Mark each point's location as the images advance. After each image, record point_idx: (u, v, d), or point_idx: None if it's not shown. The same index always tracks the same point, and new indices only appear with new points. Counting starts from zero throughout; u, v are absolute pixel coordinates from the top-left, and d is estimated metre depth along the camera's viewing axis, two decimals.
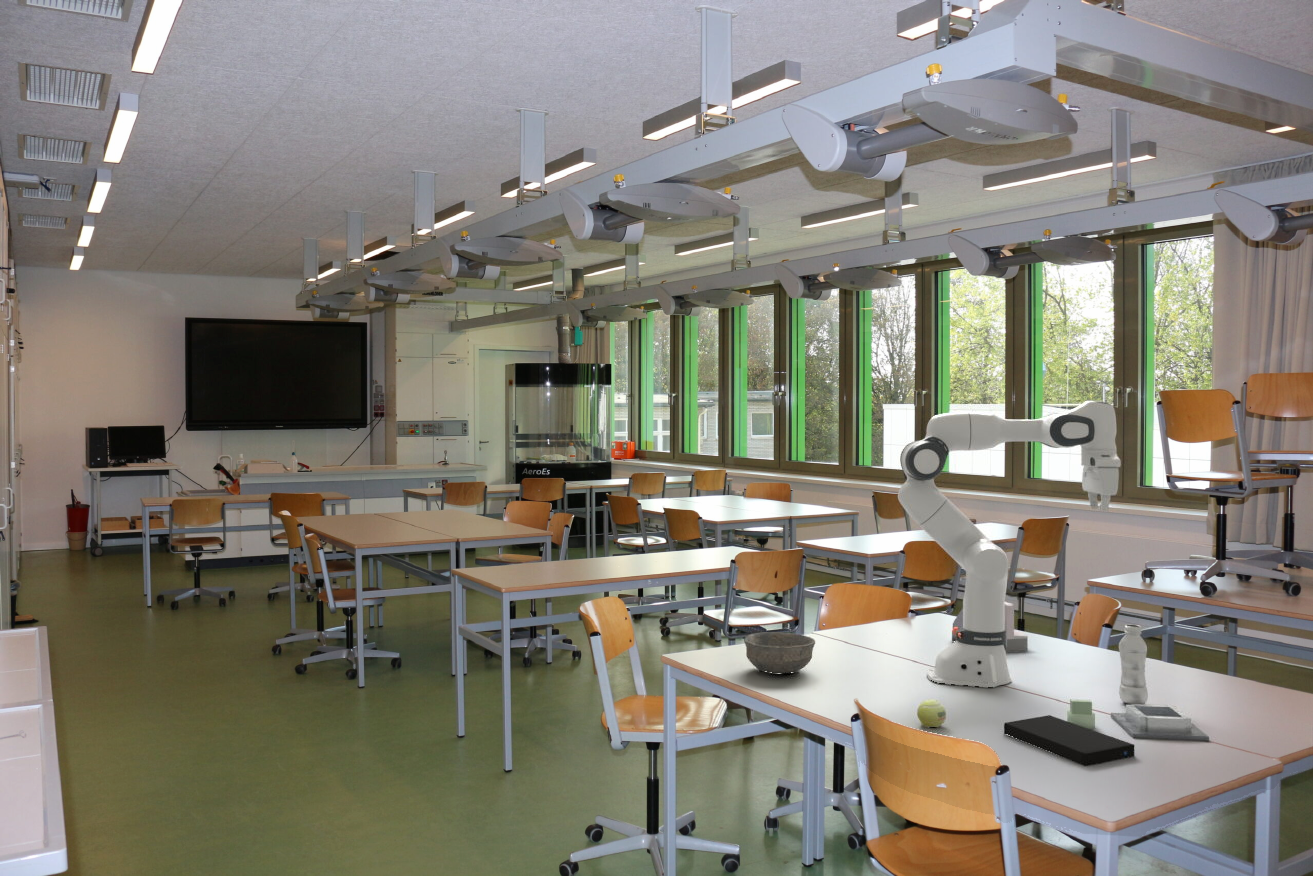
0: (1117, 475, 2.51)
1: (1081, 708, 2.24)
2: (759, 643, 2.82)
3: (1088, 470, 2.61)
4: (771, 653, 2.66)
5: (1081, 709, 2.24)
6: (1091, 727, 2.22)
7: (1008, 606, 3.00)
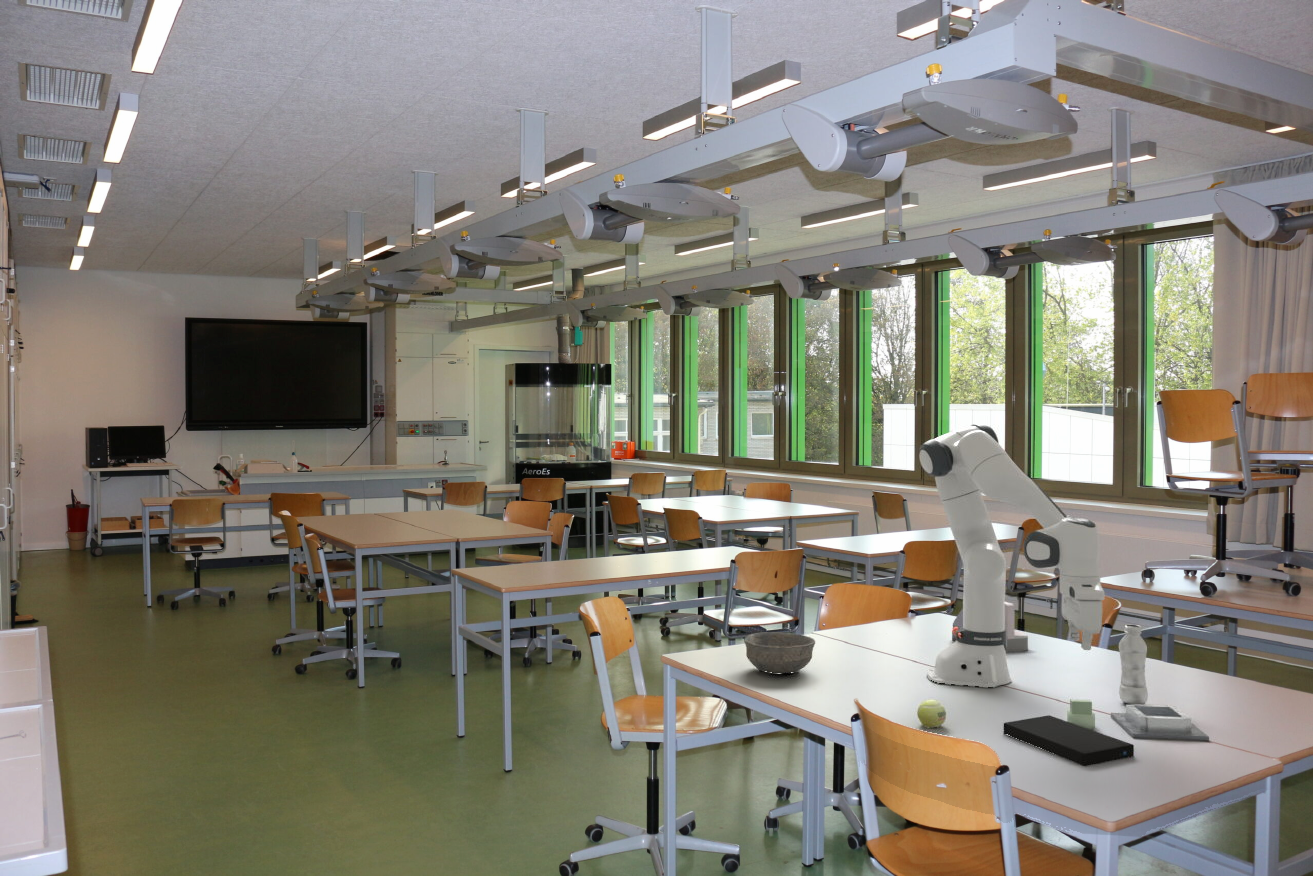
0: (1100, 610, 2.15)
1: (1081, 708, 2.24)
2: (759, 643, 2.82)
3: (1067, 599, 2.24)
4: (771, 653, 2.66)
5: (1081, 709, 2.24)
6: (1091, 727, 2.22)
7: (1008, 606, 3.00)
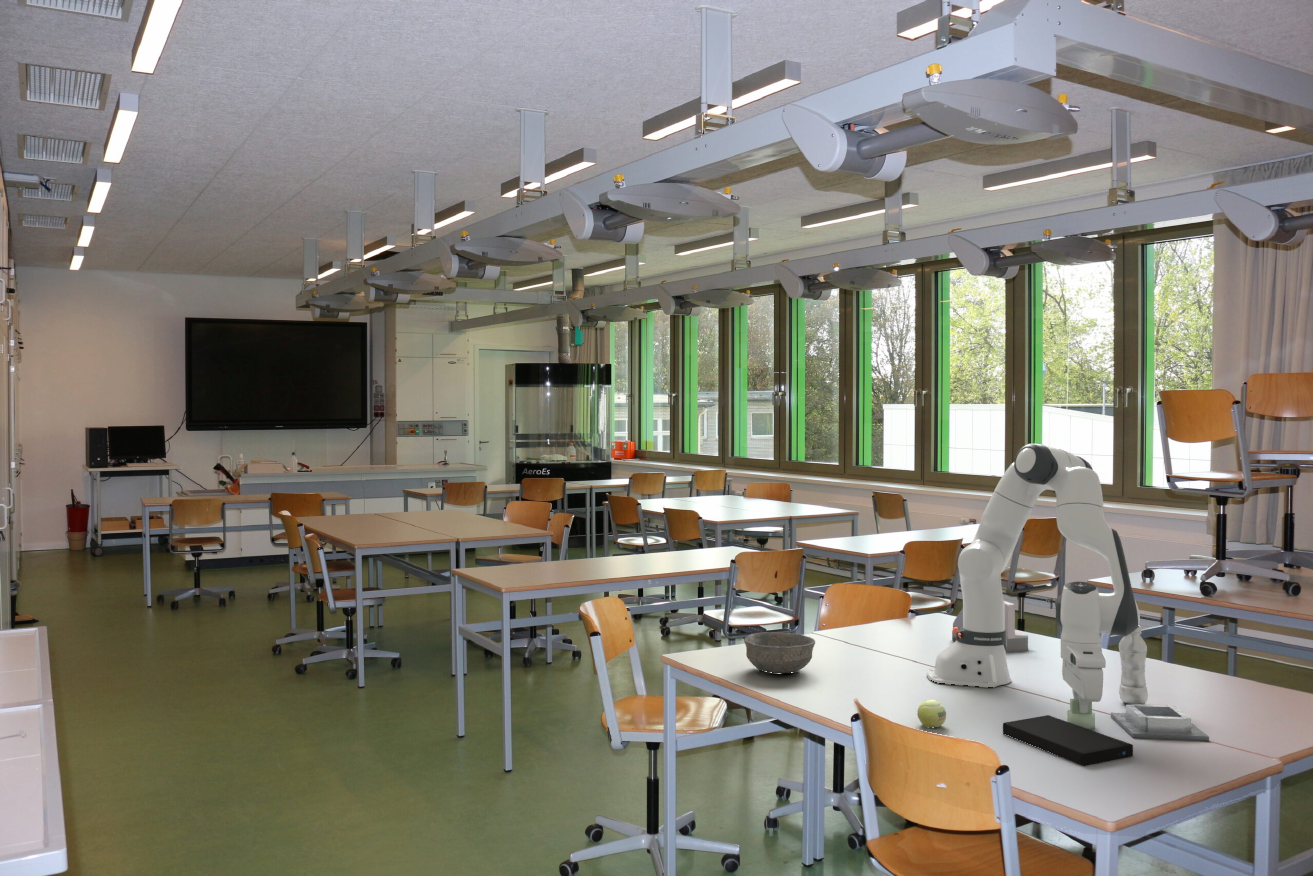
0: (1101, 679, 2.15)
1: None
2: (759, 643, 2.82)
3: (1068, 665, 2.24)
4: (771, 653, 2.66)
5: None
6: (1091, 727, 2.22)
7: (1009, 606, 3.00)
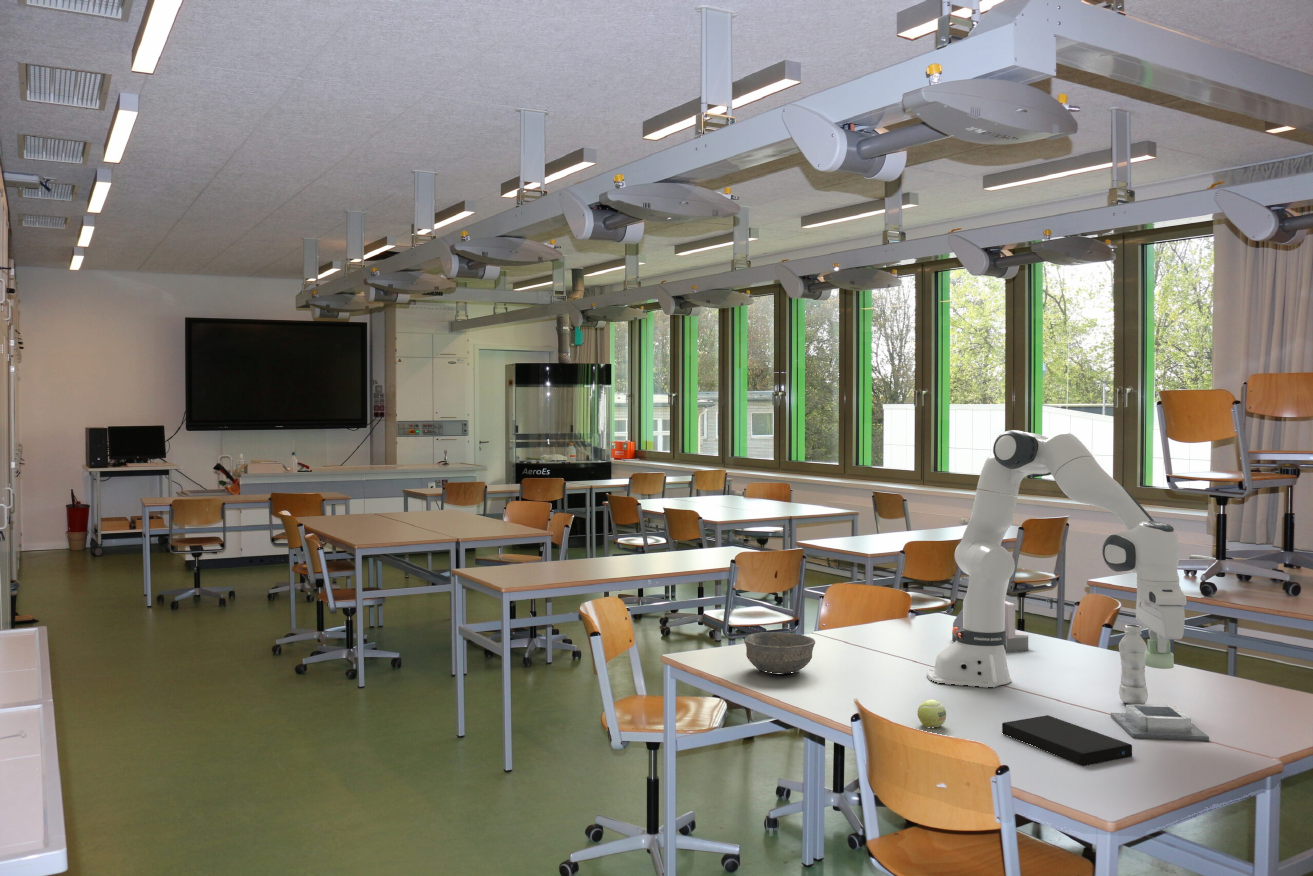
0: (1183, 616, 2.12)
1: None
2: (759, 643, 2.82)
3: (1146, 604, 2.21)
4: (771, 653, 2.66)
5: None
6: (1170, 666, 2.19)
7: (1009, 605, 3.01)
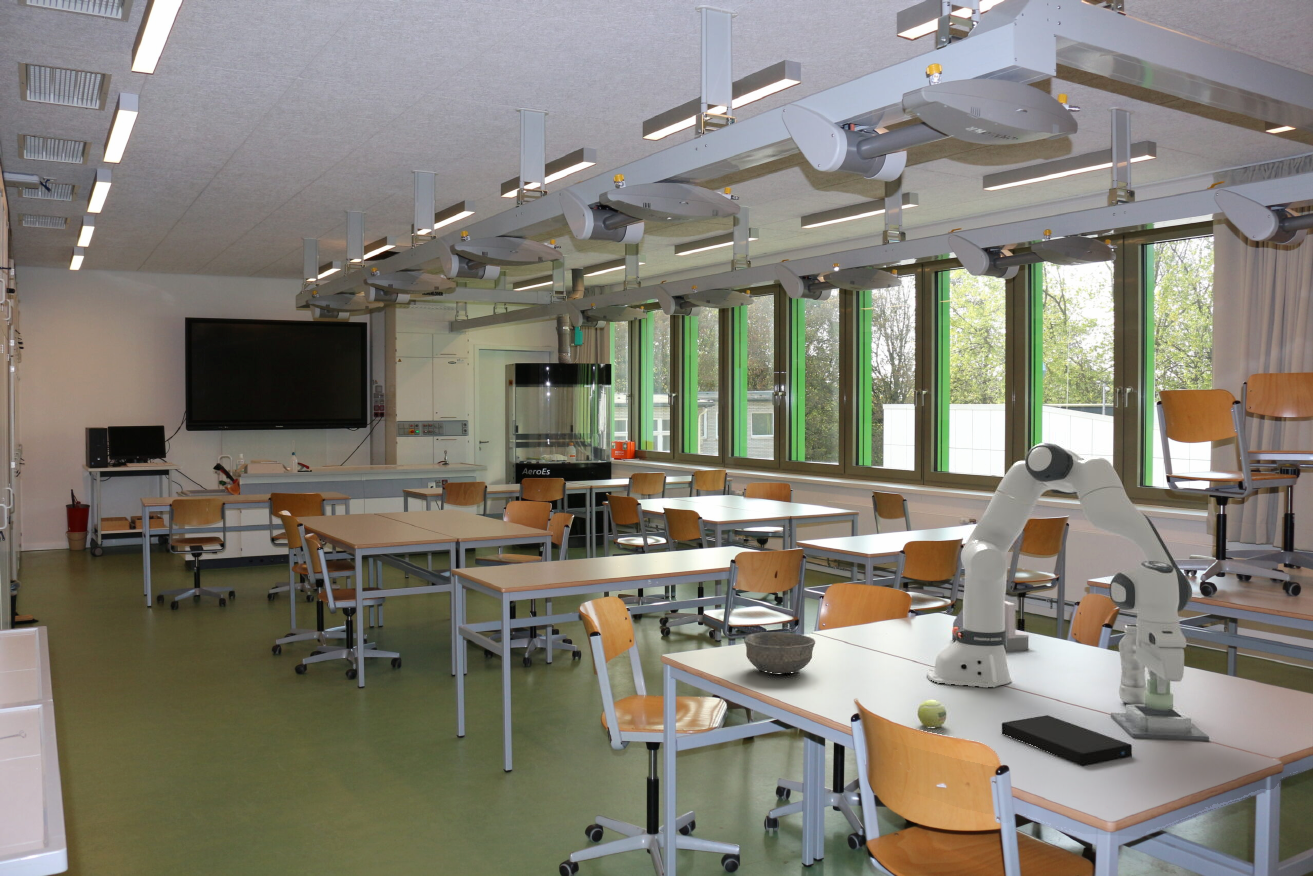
0: (1182, 658, 2.12)
1: None
2: (759, 643, 2.82)
3: (1145, 645, 2.21)
4: (771, 653, 2.66)
5: None
6: (1170, 707, 2.19)
7: (1009, 605, 3.01)
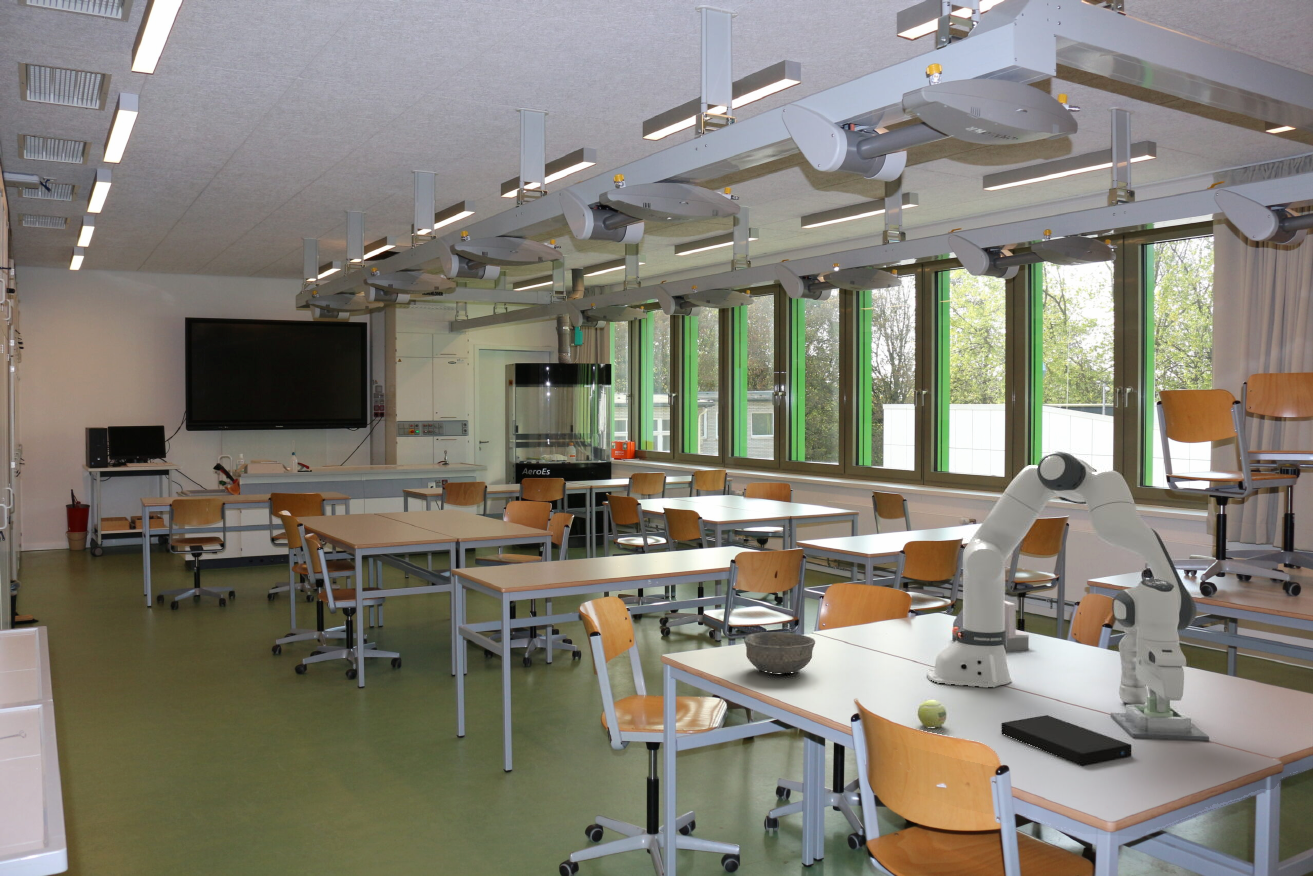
0: (1182, 677, 2.12)
1: None
2: (759, 643, 2.82)
3: (1145, 663, 2.21)
4: (771, 653, 2.66)
5: None
6: None
7: (1010, 605, 3.01)
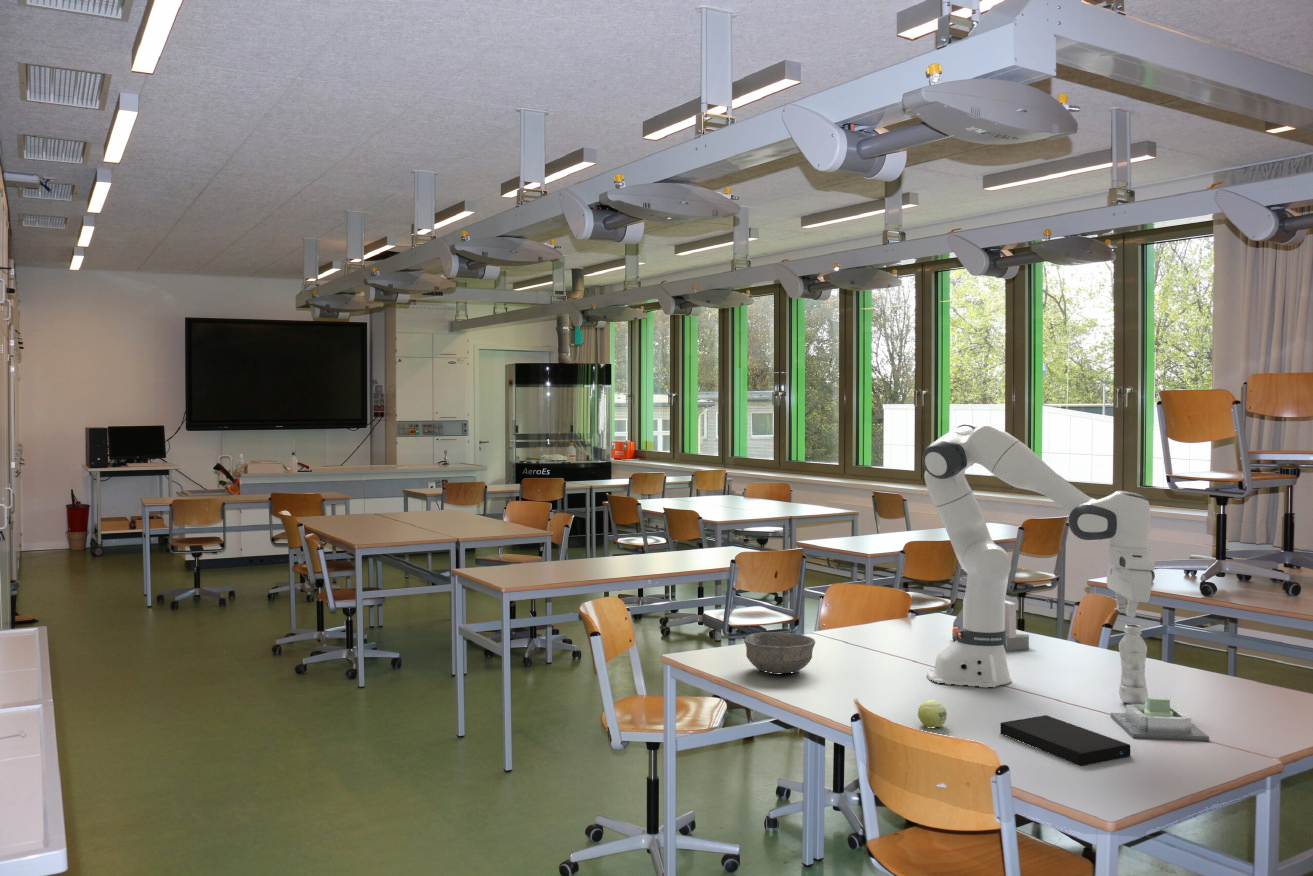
0: (1150, 580, 2.23)
1: (1159, 706, 2.21)
2: (759, 643, 2.82)
3: (1116, 569, 2.32)
4: (771, 653, 2.66)
5: (1159, 707, 2.21)
6: None
7: (1010, 605, 3.01)
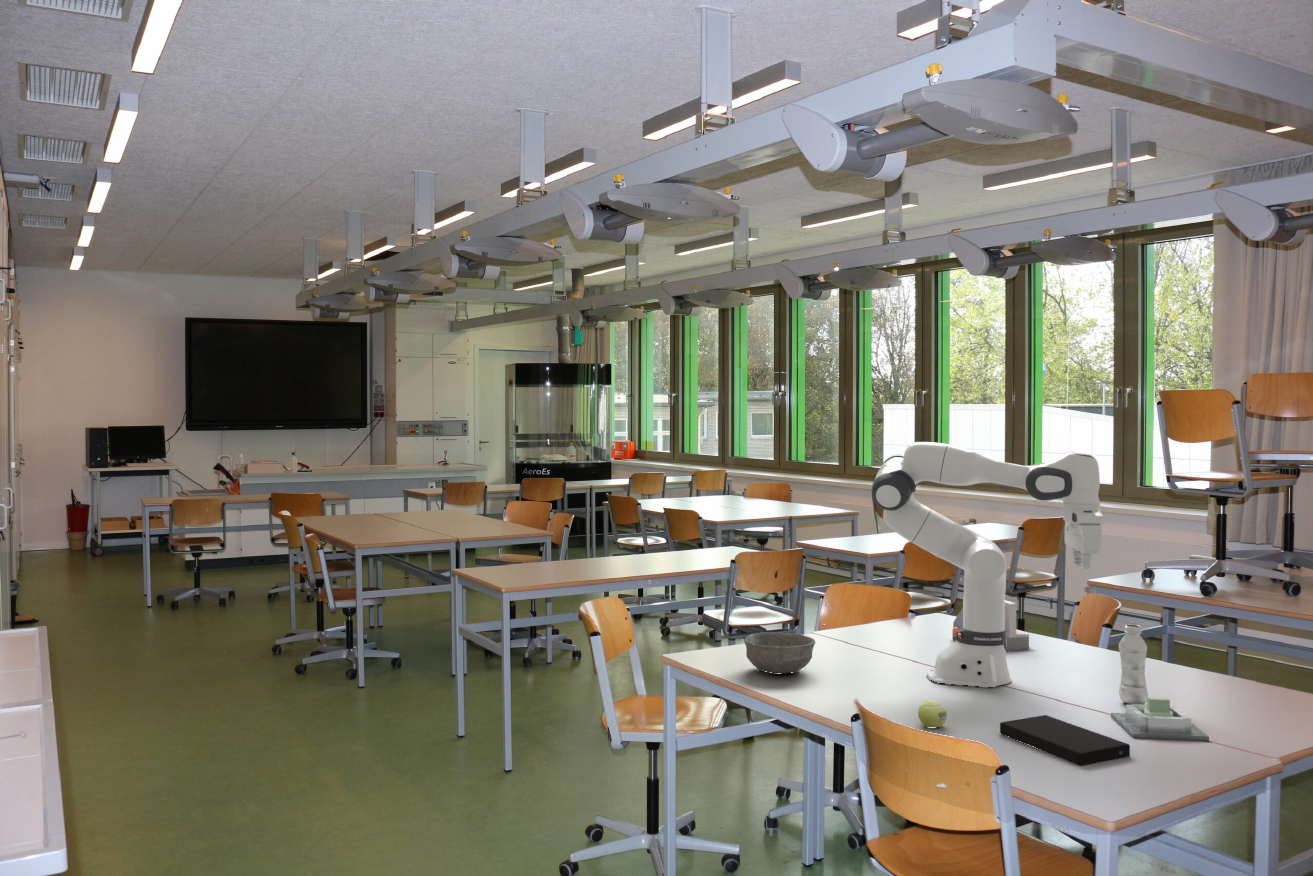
0: (1100, 533, 2.38)
1: (1159, 706, 2.21)
2: (759, 643, 2.82)
3: (1070, 525, 2.47)
4: (771, 653, 2.66)
5: (1159, 707, 2.21)
6: None
7: (1010, 605, 3.02)
